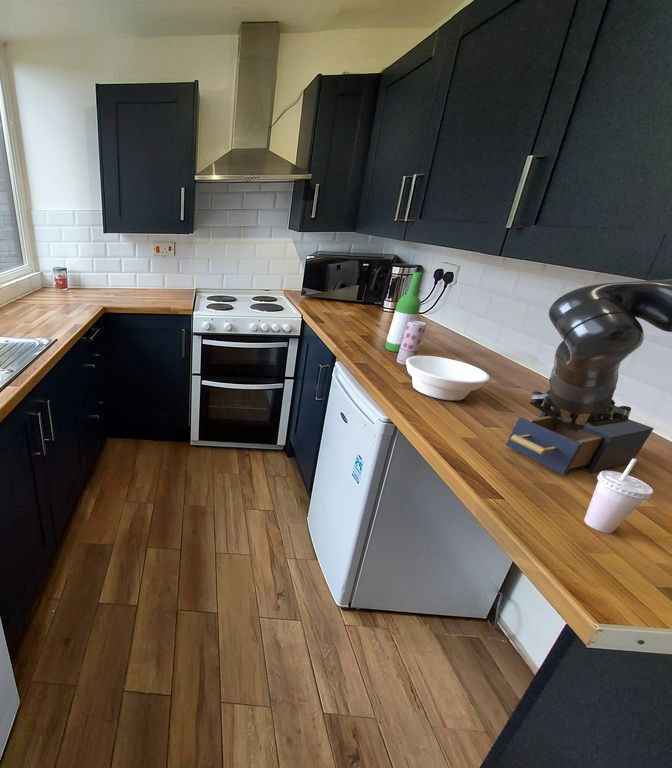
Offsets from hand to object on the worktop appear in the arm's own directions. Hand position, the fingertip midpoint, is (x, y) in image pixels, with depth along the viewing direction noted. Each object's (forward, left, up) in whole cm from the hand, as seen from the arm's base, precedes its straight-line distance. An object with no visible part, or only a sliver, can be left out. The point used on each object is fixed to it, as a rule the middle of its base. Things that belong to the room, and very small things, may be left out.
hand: (573, 426), depth 77 cm
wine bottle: (+75, -39, -14) cm, 85 cm away
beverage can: (+63, -31, -14) cm, 71 cm away
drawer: (+6, -10, -13) cm, 17 cm away
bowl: (+40, -19, -14) cm, 46 cm away
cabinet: (+6, -22, -13) cm, 26 cm away
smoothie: (-11, +4, -14) cm, 18 cm away
